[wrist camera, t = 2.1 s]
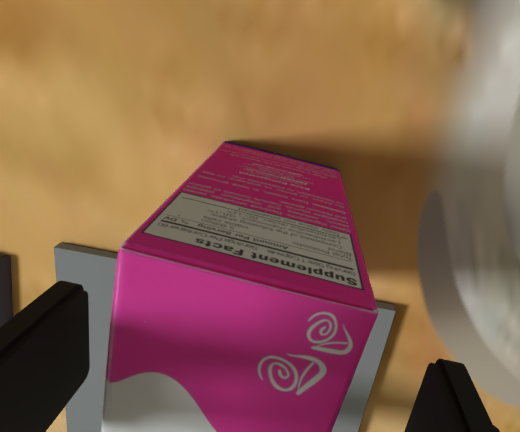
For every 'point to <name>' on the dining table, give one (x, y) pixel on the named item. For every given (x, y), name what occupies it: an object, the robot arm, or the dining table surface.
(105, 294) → the mat
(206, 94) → the dining table surface
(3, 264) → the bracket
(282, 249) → the supplement box
